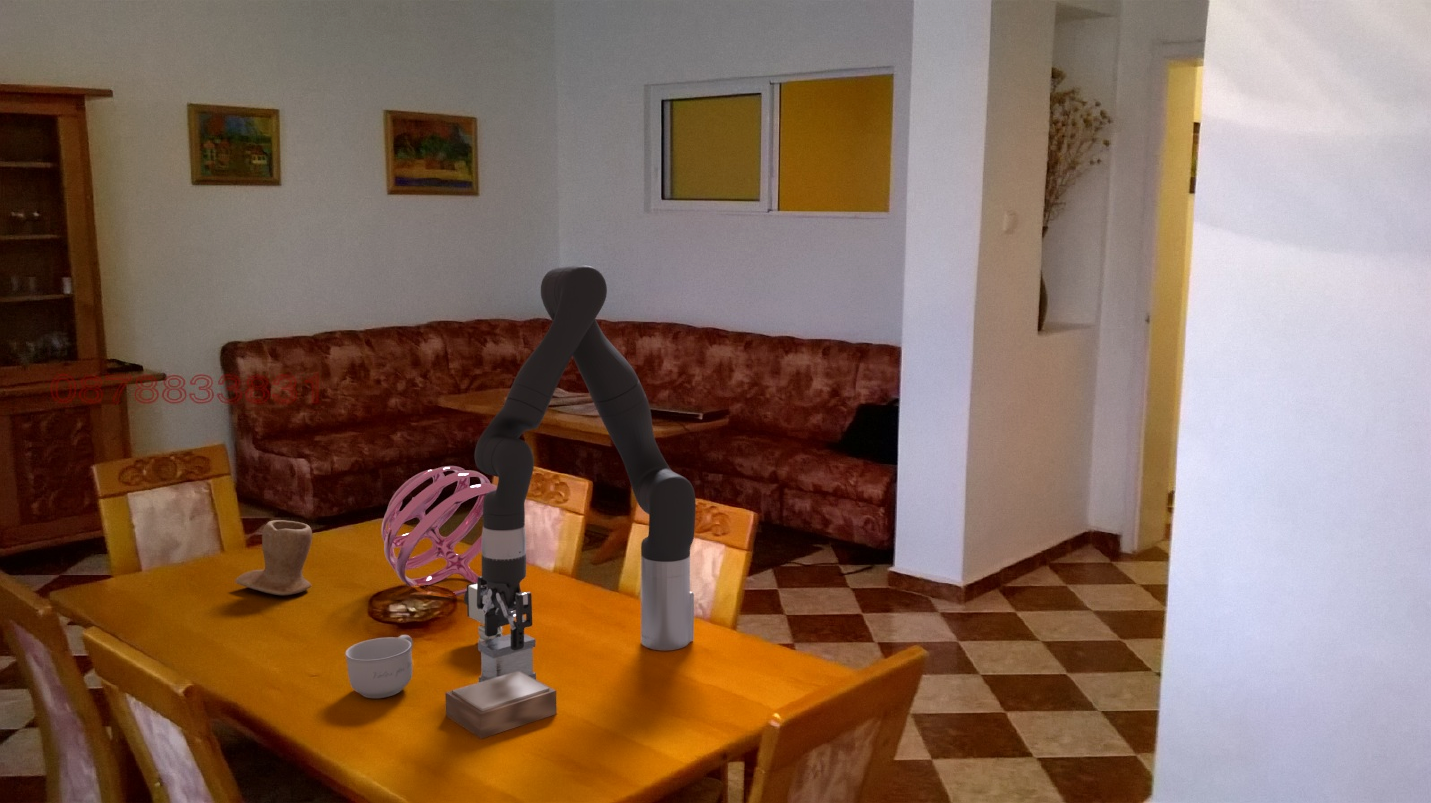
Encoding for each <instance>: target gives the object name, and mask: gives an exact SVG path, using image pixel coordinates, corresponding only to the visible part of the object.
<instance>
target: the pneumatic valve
mask: <svg viewBox="0 0 1431 803" xmlns="http://www.w3.org/2000/svg"><path fill="white" fill-rule="evenodd" d="M466 588H467V591H466V593H465V594H463V595H464V597H463V598H464V599H463V600H464V604H465V605H466V607H467V608H466V614H467V615H466V616H467V617H469V618H471V619H473V620H475V621H477V622H479V623H480V625H478V626H477V628H478V632H477V634H478V636H479V638H478V642H482V641H486V640H489V639H493V638H497V637H501V636H504V635H503V631H504V626H507V625H510V623H509V620H508V619H507V618H505V617H504V614H503V611H501V610H500V609H498V611H497V612H496V614H498V633H497V635H494V636H490V637H488V636H486V635H485V615H483V613H482V609H478V608H477V583H470V584H467V585H466ZM486 596H487V595H485V596H483V601H484V600H485V598H486ZM513 610H516V607H515V608H514V609H513ZM513 610H510V611H513ZM514 618H516V616H514ZM482 624H483V625H482Z"/></svg>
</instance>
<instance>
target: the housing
mask: <svg viewBox="0 0 1431 803" xmlns="http://www.w3.org/2000/svg"><path fill="white" fill-rule="evenodd" d="M533 648H536V638H534V637H531V636H530V635H528V634H526V633H524V647H523V648H522V649H519V650H515V651H514V650H512V649H511V633H509V634H505V635H503V636H501V637H497V638H493V639H489V640H486V641H482V642H479V641H478V642H477V651H479V652H480V653H481V654H480V656H481V657H480V660H481V675H480V676H478V683H479V682H482V681H486V680H489V679H493V678H496V677H500V676H503V675H506V674H510V673H513V672H517V671H521V672H523V673H524V674H526V675H528V676H530V677H532V678H534V679H536V680H537V673H536V672H535V671H534V666H533V665H534V660H533V659H534V656H533V653H534V649H533Z"/></svg>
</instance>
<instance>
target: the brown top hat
mask: <svg viewBox="0 0 1431 803" xmlns="http://www.w3.org/2000/svg"><path fill="white" fill-rule="evenodd" d="M312 540H313V530H312V527H310V525H308V524H307V523H304V522H299V521H294V520H293V521H292V520H284V519H283V520H281V519H280V520H279V519H278V520H276V519H275V520H270V521H268V522H267V523H266V524H265V525H264V527H263V530H262V534H261V542H262V543H261V548H262V549H261V550H262V554H263V559H264V569H254V570H250V571H247V572H244V573H241V574H240V575H239V576H237V578H236V579H235V583H236V584H238V585H240V586H243V587H246V588H249V589H252V590H255V591H258V592H262V593H265V594H270V595H276V596H290V595H291V596H292V595H295V594H299V593H302V592H305V591H306V590H308V589H310V588H311V587H312V583H311V582H310V581H308V580H307V579H306V578H304V576H303V568H304V565H305V563H306V559H307V557H308V554H309V552H310V550H311V549H310V548H311V545H312V543H313V542H312Z"/></svg>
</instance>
